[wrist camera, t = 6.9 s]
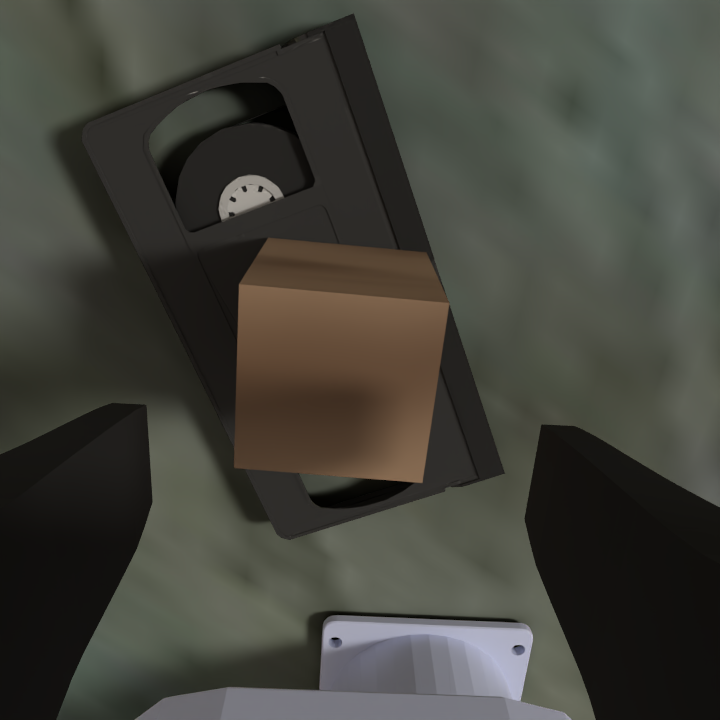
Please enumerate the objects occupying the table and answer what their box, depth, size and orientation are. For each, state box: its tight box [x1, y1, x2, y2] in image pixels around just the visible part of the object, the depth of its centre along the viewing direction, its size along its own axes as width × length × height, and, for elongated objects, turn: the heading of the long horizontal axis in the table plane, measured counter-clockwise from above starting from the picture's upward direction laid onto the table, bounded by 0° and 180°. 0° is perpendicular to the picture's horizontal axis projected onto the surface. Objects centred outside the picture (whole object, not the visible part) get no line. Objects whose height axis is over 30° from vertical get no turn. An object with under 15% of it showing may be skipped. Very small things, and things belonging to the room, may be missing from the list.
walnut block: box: [234, 238, 449, 483], centre depth 17 cm, size 4×4×5 cm
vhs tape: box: [82, 13, 505, 540], centre depth 20 cm, size 14×8×2 cm, turn 20°
